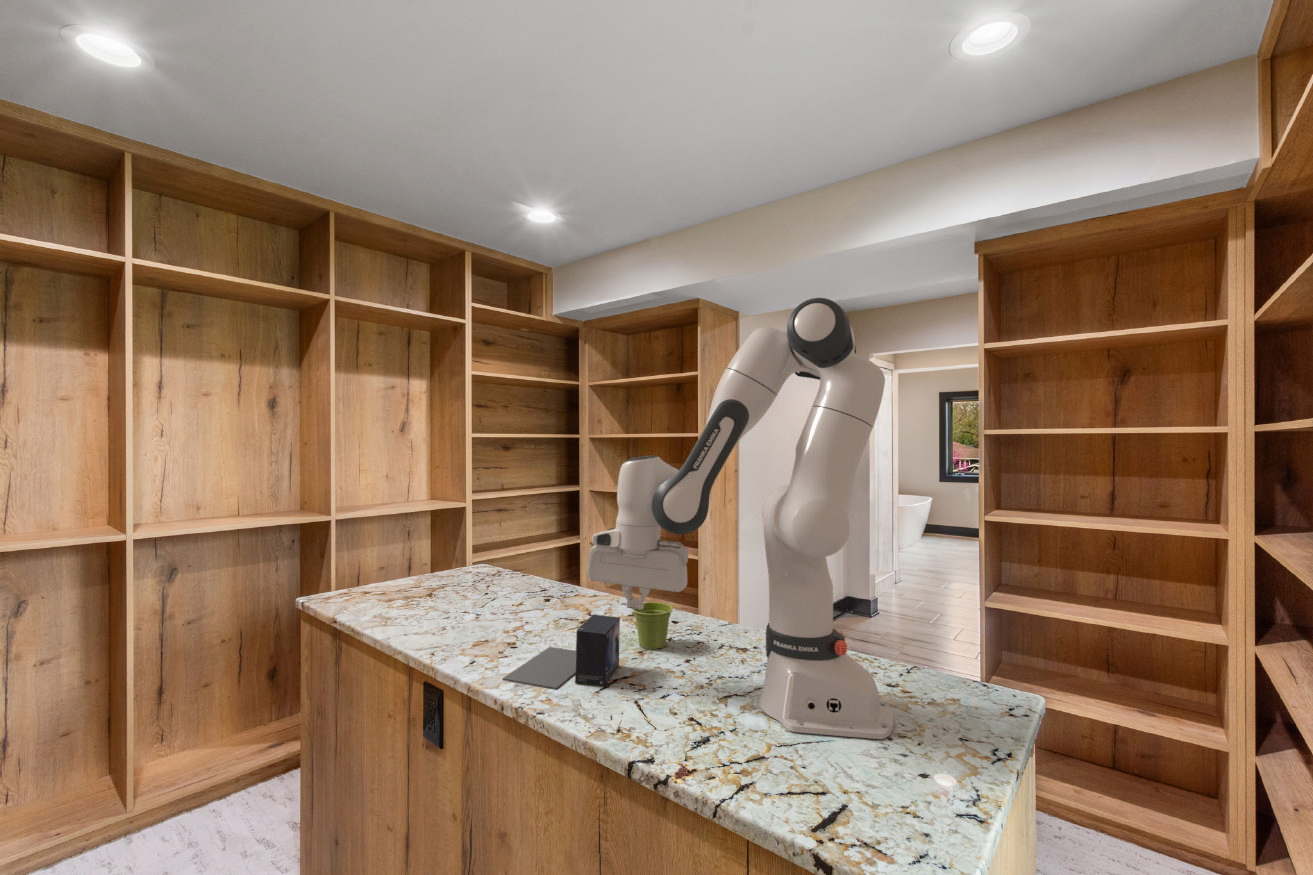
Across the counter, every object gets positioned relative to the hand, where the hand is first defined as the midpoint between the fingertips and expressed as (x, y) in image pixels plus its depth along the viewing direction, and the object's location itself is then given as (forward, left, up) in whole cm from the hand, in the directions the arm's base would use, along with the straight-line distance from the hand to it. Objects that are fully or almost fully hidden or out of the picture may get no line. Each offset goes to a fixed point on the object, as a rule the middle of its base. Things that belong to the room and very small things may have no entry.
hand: (635, 608), depth 112 cm
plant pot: (+3, -19, -14) cm, 24 cm away
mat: (+18, 0, -14) cm, 23 cm away
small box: (+8, 0, -15) cm, 17 cm away
